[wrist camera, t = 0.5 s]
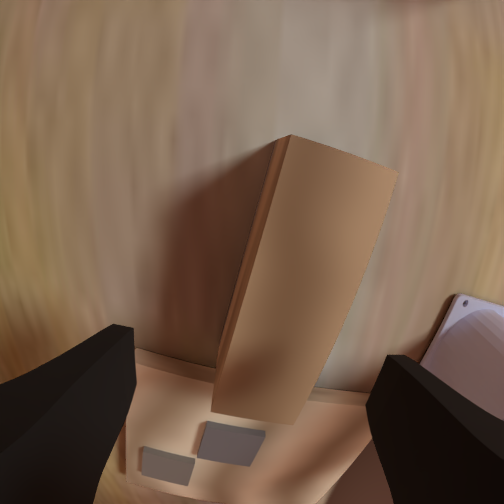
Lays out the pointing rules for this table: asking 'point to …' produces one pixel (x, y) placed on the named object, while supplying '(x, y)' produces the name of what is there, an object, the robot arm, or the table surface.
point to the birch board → (277, 435)
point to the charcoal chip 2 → (230, 444)
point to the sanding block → (297, 277)
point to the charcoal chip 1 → (167, 466)
